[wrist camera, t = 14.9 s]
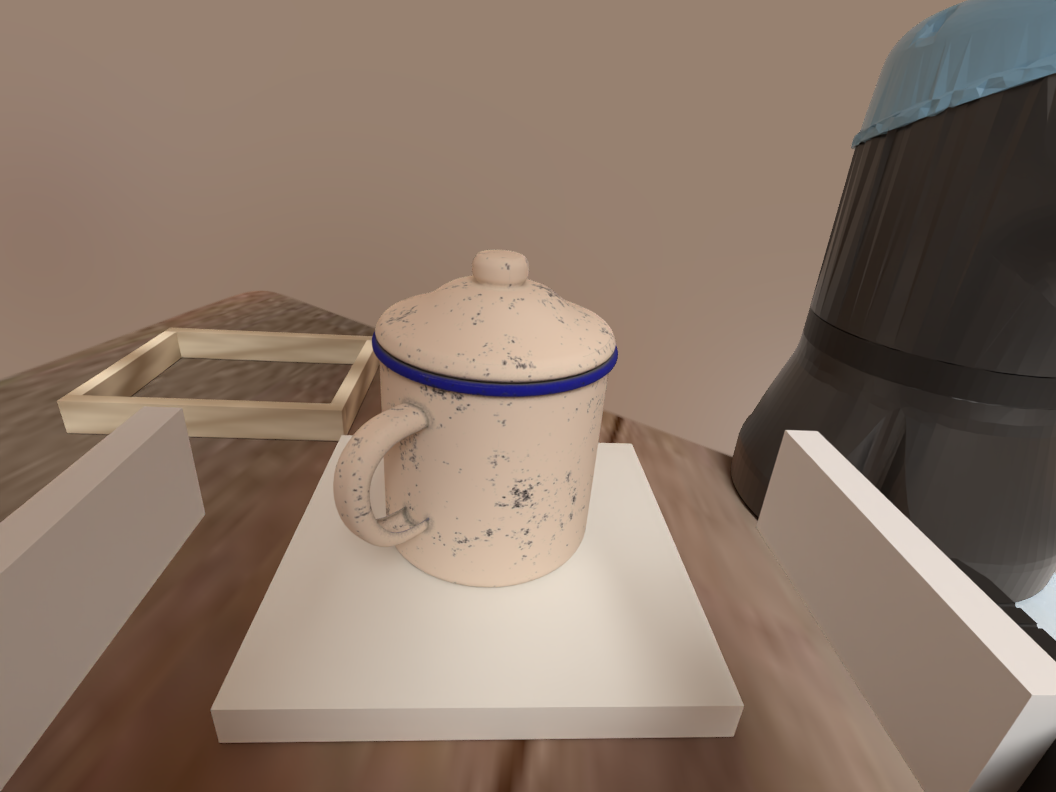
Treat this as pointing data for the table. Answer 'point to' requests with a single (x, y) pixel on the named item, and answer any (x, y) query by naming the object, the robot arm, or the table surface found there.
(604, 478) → the ceramic board
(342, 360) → the cup holder
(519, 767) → the table surface
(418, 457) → the teacup with lid
